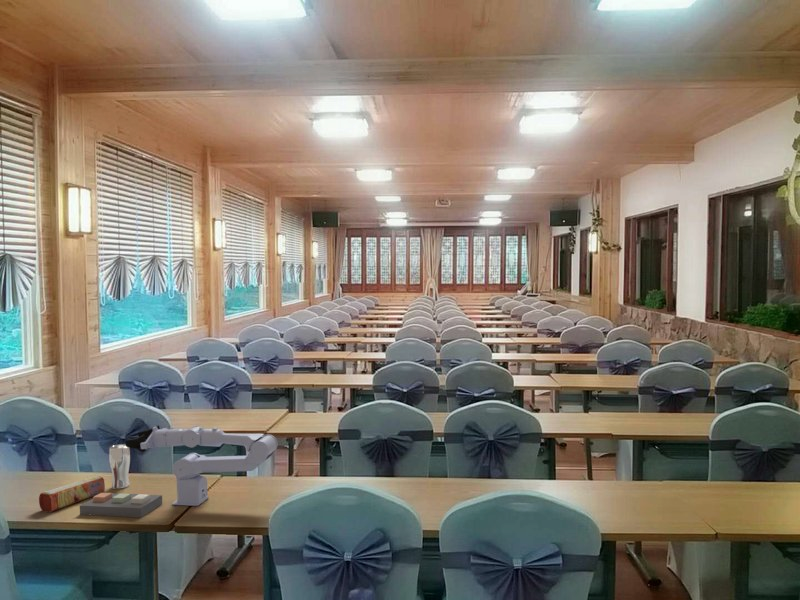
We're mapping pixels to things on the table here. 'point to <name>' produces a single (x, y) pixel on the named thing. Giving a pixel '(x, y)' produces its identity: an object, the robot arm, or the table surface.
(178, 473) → the robot arm
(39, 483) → the table surface
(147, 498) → the off-white button
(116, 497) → the sage button
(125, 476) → the beer glass
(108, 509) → the button panel
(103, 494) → the terracotta button
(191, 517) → the table surface
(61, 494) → the snack package
